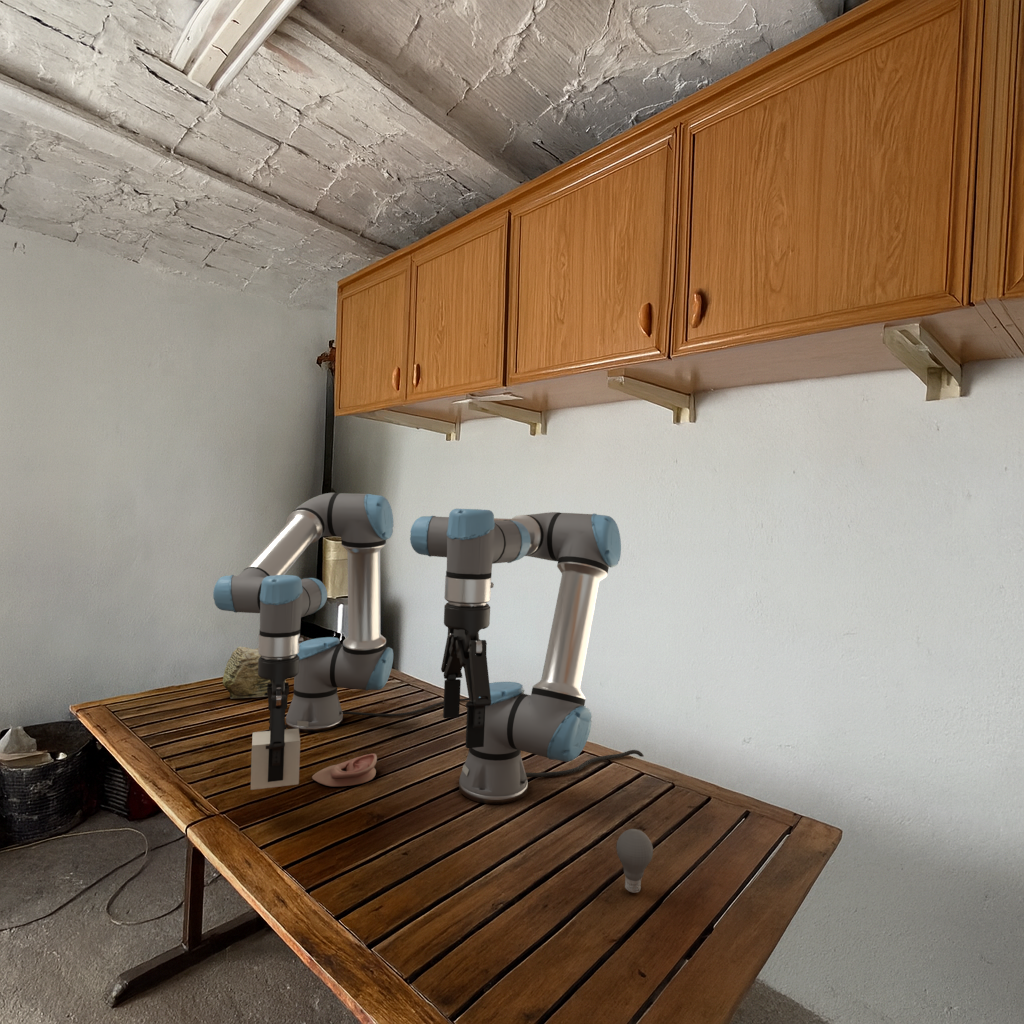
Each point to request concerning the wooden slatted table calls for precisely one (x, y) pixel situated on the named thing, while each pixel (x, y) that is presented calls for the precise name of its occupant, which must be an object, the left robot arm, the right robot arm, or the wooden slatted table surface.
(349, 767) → the anatomical model
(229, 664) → the fossil
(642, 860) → the light bulb
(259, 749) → the beige block
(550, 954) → the wooden slatted table surface
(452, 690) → the right robot arm
